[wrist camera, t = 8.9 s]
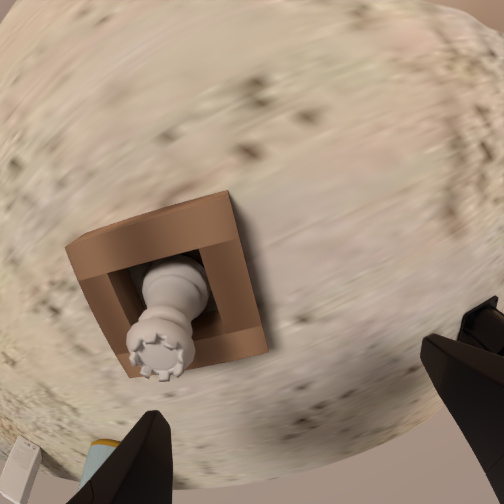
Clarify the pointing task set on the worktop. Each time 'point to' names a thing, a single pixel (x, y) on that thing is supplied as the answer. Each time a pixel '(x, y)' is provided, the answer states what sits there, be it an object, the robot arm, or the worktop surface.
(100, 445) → the bottle
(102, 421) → the worktop surface
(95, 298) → the socket
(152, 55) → the worktop surface
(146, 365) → the rook chess piece
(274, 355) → the worktop surface
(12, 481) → the skincare box
